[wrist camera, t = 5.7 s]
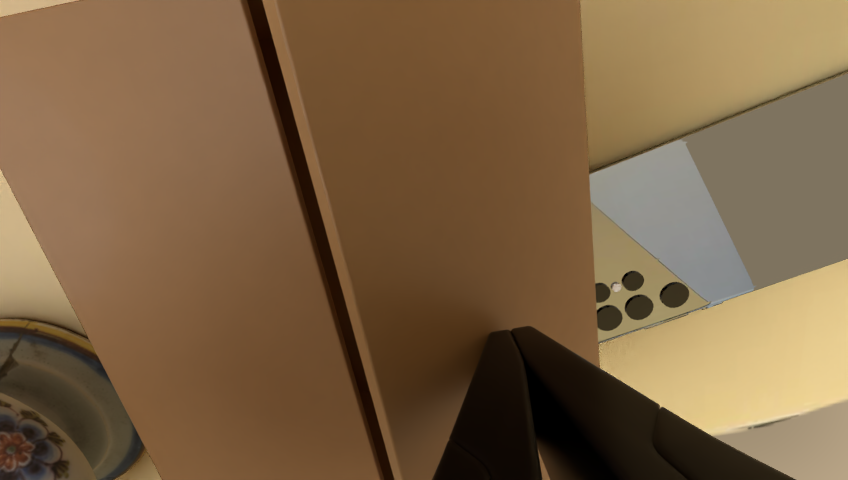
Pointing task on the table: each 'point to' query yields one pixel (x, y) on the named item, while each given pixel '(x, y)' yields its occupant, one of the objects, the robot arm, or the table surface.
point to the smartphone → (722, 210)
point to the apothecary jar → (59, 408)
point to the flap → (444, 188)
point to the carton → (188, 234)
